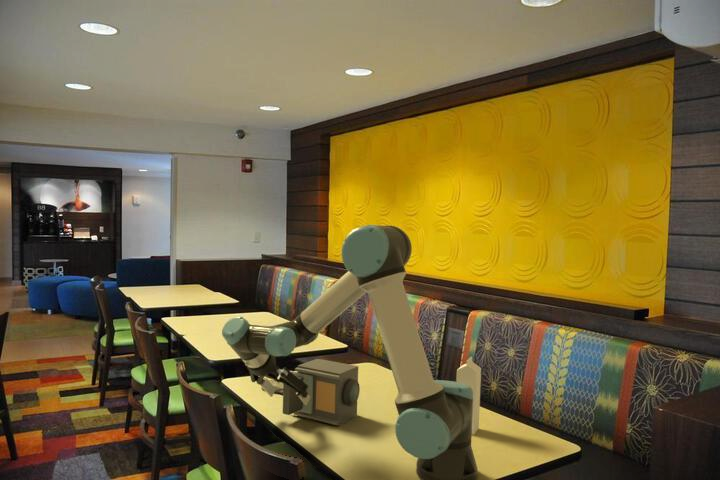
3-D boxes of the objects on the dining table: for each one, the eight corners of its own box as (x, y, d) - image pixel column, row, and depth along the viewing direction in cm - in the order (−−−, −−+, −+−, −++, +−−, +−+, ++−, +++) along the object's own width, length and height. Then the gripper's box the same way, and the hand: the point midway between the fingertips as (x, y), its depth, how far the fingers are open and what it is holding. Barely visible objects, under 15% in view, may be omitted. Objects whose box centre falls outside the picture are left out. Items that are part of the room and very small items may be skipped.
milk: (454, 431, 167) (456, 359, 166) (460, 425, 173) (462, 355, 172) (474, 435, 164) (476, 361, 164) (479, 428, 170) (481, 357, 169)
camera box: (362, 416, 177) (363, 367, 177) (341, 428, 166) (343, 376, 166) (316, 405, 186) (317, 358, 186) (293, 416, 176) (294, 366, 175)
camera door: (312, 413, 173) (313, 375, 173) (297, 420, 166) (298, 381, 166) (289, 407, 178) (290, 370, 177) (274, 414, 171) (275, 376, 171)
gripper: (219, 362, 162) (253, 400, 175) (286, 376, 149) (317, 416, 162) (233, 341, 166) (264, 379, 179) (299, 353, 153) (328, 393, 167)
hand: (290, 397), depth 171 cm, fingers open, 13 cm apart
